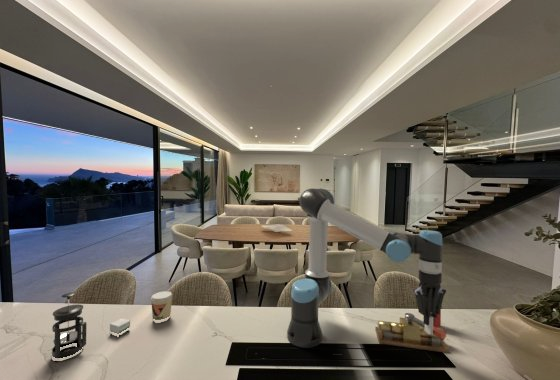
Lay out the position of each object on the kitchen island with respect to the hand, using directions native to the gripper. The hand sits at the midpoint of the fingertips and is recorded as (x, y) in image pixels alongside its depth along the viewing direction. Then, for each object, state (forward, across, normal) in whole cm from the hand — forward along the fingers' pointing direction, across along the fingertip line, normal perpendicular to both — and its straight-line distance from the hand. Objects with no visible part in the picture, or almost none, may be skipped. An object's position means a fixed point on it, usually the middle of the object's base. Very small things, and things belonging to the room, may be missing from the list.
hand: (428, 332), depth 93 cm
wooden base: (+10, 0, +10) cm, 14 cm away
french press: (+12, -136, +26) cm, 139 cm away
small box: (+12, -123, +38) cm, 129 cm away
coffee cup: (+12, -108, +47) cm, 118 cm away
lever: (0, +1, +4) cm, 4 cm away
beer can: (+10, +19, +18) cm, 28 cm away
